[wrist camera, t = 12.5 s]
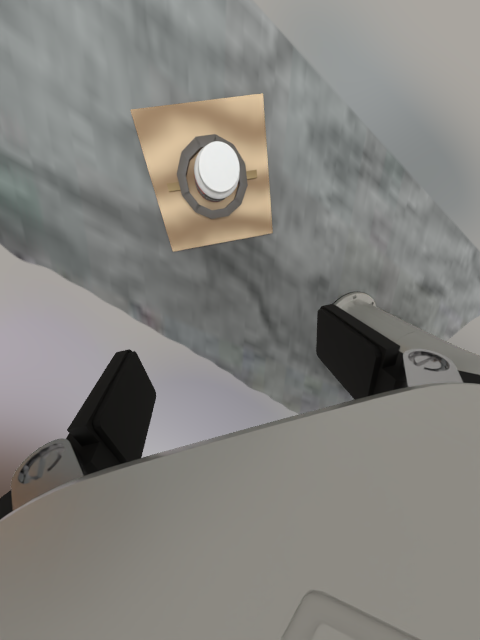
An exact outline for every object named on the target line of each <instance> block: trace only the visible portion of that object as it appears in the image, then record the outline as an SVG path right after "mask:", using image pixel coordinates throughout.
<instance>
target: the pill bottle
mask: <svg viewBox="0 0 480 640" xmlns="http://www.w3.org/2000/svg"><path fill="white" fill-rule="evenodd" d="M239 172H240V166H239V161H238V157H237V155H236V153H235V151H234V150H233V149H232V148H231V147H230V146H229V145H228V144H226V143H224V142H220V141H215V142H211V143H209V144H208V145H206V146H205V147H204V148H202V149H201V150H200V152H199V153H198V155H197V157H196V160H195V164H194V176H195V184H196V187H197V190H198V192H199V193H200V195H201V196H202V197H203V198H205V199H206V200H208V201H210V202H220V201H222V200H224V199H225V198H227V197H228V196H229V195H231V194H232V193H233V191H234V190H235V188H236V187H237V184H238V181H239Z"/></svg>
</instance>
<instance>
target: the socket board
mask: <svg viewBox="0 0 480 640" xmlns="http://www.w3.org/2000/svg"><path fill="white" fill-rule="evenodd" d="M131 114H132V117H133V120H134V124H135V127H136V130H137V134H138V137H139V140H140V144H141V147H142V150H143V154H144V157H145V160H146V164H147V167H148V170H149V174H150V177H151V180H152V184H153V187H154V190H155V194H156V197H157V200H158V204H159V207H160V210H161V214H162V217H163V220H164V224H165V227H166V230H167V234H168V237H169V240H170V244H171V247H172V250H173V252H174V251H179V250H184V249H190V248H195V247H200V246H206V245H211V244H217V243H222V242H227V241H233V240H238V239H243V238H249V237H254V236H260V235H265V234H270V233H273V231H272V216H271V202H270V188H269V174H268V159H267V145H266V131H265V116H264V102H263V94H255V95H247V96H239V97H230V98H222V99H214V100H206V101H198V102H190V103H181V104H173V105H165V106H157V107H149V108H141V109H132V110H131ZM215 141H220V142H224V143H226V144H228V145H229V146H230V147H231V148H232V149H233V150H234V151H235V153H236V155H237V157H238V161H239V166H240V172H239V181H238V184H237V187H236V188H235V190H234V191H233V193H232V194H231V195H229V196H228V197H227V198H225V199H224V200H222V201H220V202H210V201H208V200H206V199H205V198H203V197H202V196H201V195H200V193H199V192H198V190H197V187H196V184H195V176H194V164H195V160H196V157H197V155H198V153H199V152H200V150H201V149H202V148H204V147H205V146H206V145H208V144H209V143H211V142H215Z"/></svg>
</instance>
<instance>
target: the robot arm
mask: <svg viewBox="0 0 480 640" xmlns="http://www.w3.org/2000/svg"><path fill="white" fill-rule="evenodd" d="M316 352H317V355H318V357H319V359H320V360H321V361H322V362H323V363H324V364H325V366H326V367H327V368H328V369H329V370H330V371H331V372H332V374H333V375H334V376H335V377H336V378H337V379H338V381H339V382H340V383H341V384H342V385H343V386H344V388H345V389H346V390H347V391H348V392H349V393H350V395H351V396H352V397H353V398H354V399H355V400H352V401H348V402H344V403H341V404H337V405H333V406H329V407H326V408H322V409H318V410H314V411H311V412H307V413H303V414H299V415H296V416H292V417H289V418H284V419H281V420H277V421H273V422H270V423H266V424H263V425H259V426H255V427H251V428H248V429H244V430H240V431H237V432H233V433H229V434H226V435H222V436H218V437H215V438H211V439H208V440H204V441H200V442H197V443H193V444H190V445H186V446H183V447H179V448H175V449H172V450H168V451H164V452H161V453H157V454H154V455H150V456H147V457H143V458H141V456H142V452H143V448H144V444H145V440H146V436H147V432H148V428H149V424H150V420H151V416H152V412H153V408H154V403H155V399H156V392H155V389H154V387H153V385H152V383H151V381H150V379H149V377H148V375H147V373H146V371H145V369H144V367H143V365H142V363H141V361H140V359H139V357H138V355H137V353H136V352H132V351H131V350H125V351H120V352H117V353H116V354H115V355H114V357H113V358H112V360H111V361H110V363H109V364H108V366H107V368H106V369H105V371H104V373H103V374H102V376H101V377H100V379H99V380H98V382H97V383H96V385H95V387H94V388H93V390H92V391H91V393H90V395H89V396H88V398H87V399H86V401H85V402H84V404H83V406H82V407H81V409H80V410H79V412H78V414H77V415H76V417H75V418H74V420H73V421H72V423H71V425H70V426H69V428H68V429H67V431H68V432H69V435H68V436H67V438H66V439H57V440H54V441H51V442H49V443H47V444H45V445H43V446H42V447H40V448H38V449H37V450H36V451H35V452H33V453H32V454H31V455H30V456H29V457H28V458H26V459H25V461H23V462H22V464H21V465H20V466H19V467H18V469H17V470H16V472H15V473H14V475H13V477H12V481H11V491H9V492H8V493H7V494H5V495H4V496H3V497H1V498H0V640H480V356H479V355H477V354H474V353H472V352H469V351H467V350H464V349H462V348H460V347H457V346H455V345H453V344H451V343H449V342H446V341H444V340H442V339H440V338H438V337H436V336H434V335H432V334H430V333H428V332H426V331H424V330H422V329H420V328H418V327H416V326H413V325H411V324H409V323H407V322H405V321H403V320H401V319H399V318H397V317H395V316H393V315H391V314H389V313H387V312H385V311H383V310H381V309H379V308H377V307H376V304H375V301H374V300H373V298H372V297H371V296H369V295H367V294H365V293H362V292H354V293H350V294H347V295H345V296H343V297H341V298H340V299H339V300H337V301H336V302H335V303H334V304H330V305H325V306H322V307H321V308H320V310H318V318H317V347H316Z"/></svg>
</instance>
